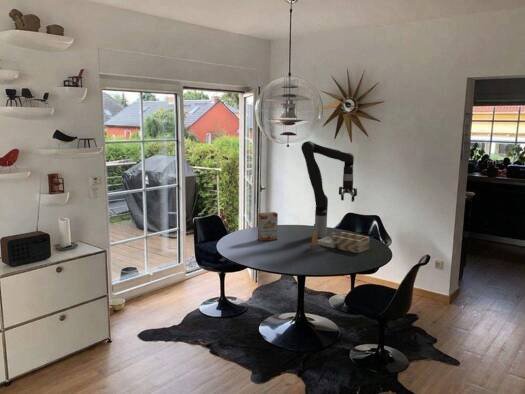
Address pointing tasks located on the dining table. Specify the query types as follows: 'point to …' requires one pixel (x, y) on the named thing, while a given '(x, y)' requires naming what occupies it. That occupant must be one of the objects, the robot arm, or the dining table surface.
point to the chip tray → (327, 242)
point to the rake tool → (314, 242)
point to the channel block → (351, 242)
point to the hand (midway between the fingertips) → (347, 200)
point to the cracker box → (267, 226)
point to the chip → (332, 234)
